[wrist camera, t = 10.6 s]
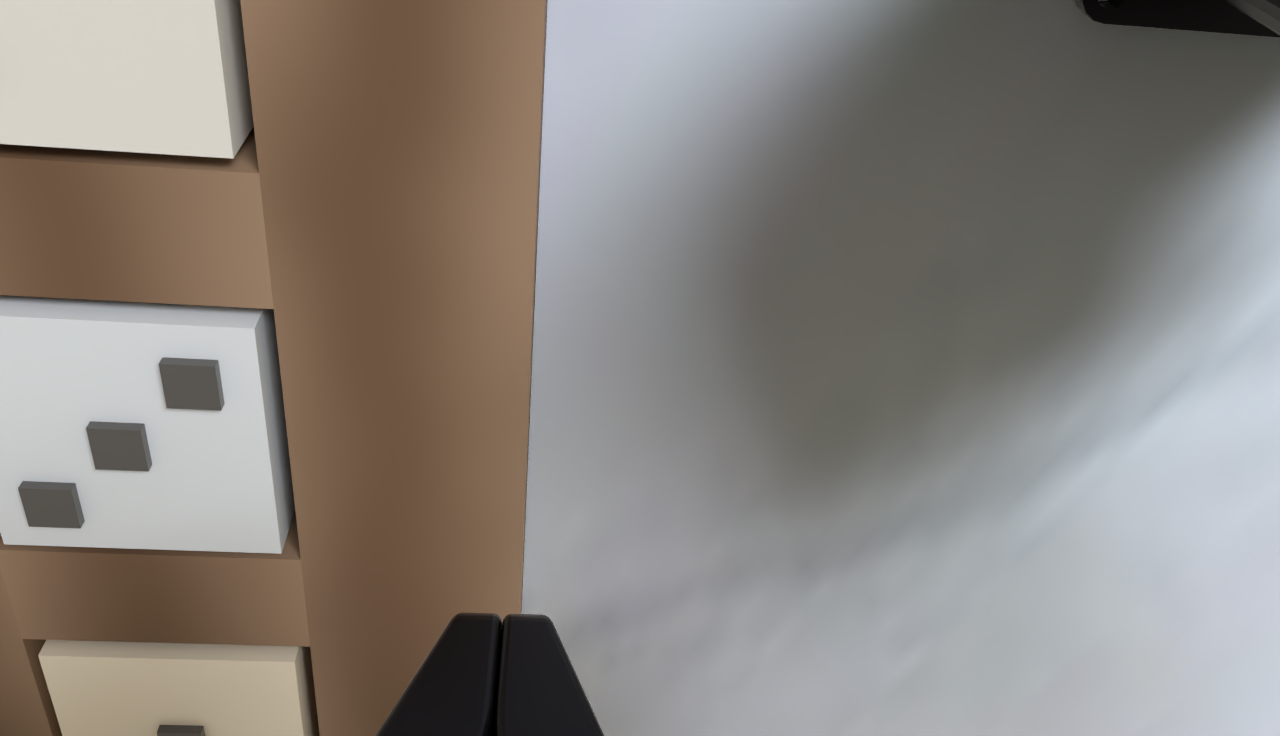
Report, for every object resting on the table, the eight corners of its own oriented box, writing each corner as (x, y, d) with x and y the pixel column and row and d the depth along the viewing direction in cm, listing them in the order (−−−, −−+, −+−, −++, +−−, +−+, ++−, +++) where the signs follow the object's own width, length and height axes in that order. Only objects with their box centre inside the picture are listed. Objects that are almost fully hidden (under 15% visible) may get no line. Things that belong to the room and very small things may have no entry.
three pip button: (293, 242, 21) (250, 335, 18) (313, 454, 24) (279, 560, 21) (11, 227, 20) (-74, 319, 18) (65, 444, 23) (-1, 551, 21)
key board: (561, -334, 16) (558, -323, 14) (515, 742, 29) (510, 846, 27) (-498, -442, 15) (-713, -452, 12) (-45, 731, 28) (-106, 839, 26)
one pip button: (322, 558, 25) (292, 670, 23) (336, 705, 28) (310, 819, 25) (92, 551, 25) (33, 663, 22) (129, 700, 28) (81, 816, 25)
